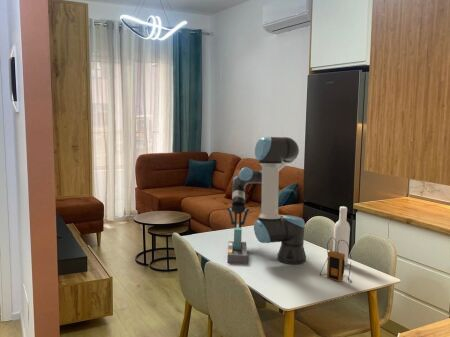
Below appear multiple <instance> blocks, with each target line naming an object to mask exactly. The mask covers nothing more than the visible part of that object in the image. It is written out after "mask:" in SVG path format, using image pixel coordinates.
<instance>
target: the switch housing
mask: <svg viewBox="0 0 450 337" xmlns="http://www.w3.org/2000/svg"><path fill="white" fill-rule="evenodd" d="M233 243H234V240H233V241H232V240H231V241H228V243H227V244H228V245H227V259H226V260H227V263H228V264H248V247H247V242H246V241H241V250H236V249H233Z"/></svg>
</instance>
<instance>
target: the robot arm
mask: <svg viewBox="0 0 450 337" xmlns="http://www.w3.org/2000/svg"><path fill="white" fill-rule="evenodd" d="M299 153H300V148H299V145H298V143H297V142H296V140H294V139H293V138H291V137H287V136H286V137H285V136H284V137H283V136H282V137H281V136H265V137H264V136H263V137H260V138H259V139H258V140H257V142H256V144H255V148H254V157H255V160H258V164H259V165H260V166H261V169H260V170H253V169H251V168H249V167H248V166H247V167H246V166H245V167H242V168H241V169H240V171H238V175H236V176H234V177H233V179H232V193H231V196H232V197H231V207H230V208H227V213H228V216H229V220H230V223H231V225H232V226H234V227H233V228H242V226H245V224H246V223H245V222H246V220H247V216H248V215H249V213H250V209H249V208H246V187H247V186H248V185H249V184H261V208H260V209H261V210H260V211H261V212H260V214H259V215H258V219H257V220H255V221H254V224H253V231H254V236H255V238H256V239H257V241H258V242H260V244H261V243H262V244H270V243H271V244H272V243H280V247H279V249H278V252H277V258H276V259H277V261H279V262H281V263H284V264H290V265H301V264H304V263H306V262H307V255H306V250H305V247H304V243H305V228H306V227H305V226H306V225H305V220H304V219H303V218H302V217H299V216H296V215H288V214H287V215H286V214H284V215H282V217H281V215H280V214H279V184H280V183H279V181H280V180H279V178H280V176H279V175H280V171H281V170H282V169H284V167H286V166H287V165H288V164H290V163H291V164H292V163H293V162H294V161H295V160H296V159H297V158H298V156H299ZM232 212H233V213H232ZM243 213H244V215H243V218H242V214H243ZM233 214H234V218H233ZM237 218H238V220H237ZM237 222H238V223H237Z"/></svg>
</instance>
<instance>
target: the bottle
mask: <svg viewBox="0 0 450 337" xmlns="http://www.w3.org/2000/svg"><path fill="white" fill-rule="evenodd" d="M347 215H348V207H347V206H339V218H338V221H336V222H335V224H334V229H333V246H332V247H333V248H332V251H335V246H336V252H337V247H338V252H339V253H343V254H345V259H344V261H345V265H346V266H348V265H349V264H348V263H349V251H350V250H349V248H350V235H351V234H350V233H351V226H350V223H349V222H348V221H347ZM334 238H335V239H334ZM335 240H336V241H335ZM340 240H344V241H340ZM345 241H346V242H347V243H346V242H345ZM338 242H339V243H338ZM347 244H348V245H347ZM348 246H349V247H348Z"/></svg>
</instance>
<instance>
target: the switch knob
mask: <svg viewBox="0 0 450 337" xmlns="http://www.w3.org/2000/svg"><path fill="white" fill-rule="evenodd" d="M233 228H234V227H233ZM233 230H234V231H233V242H234V243H233V249H236V250H241V242H242V234H243V233H242V230H243V229H242V227H241V228H234V229H233Z"/></svg>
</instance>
